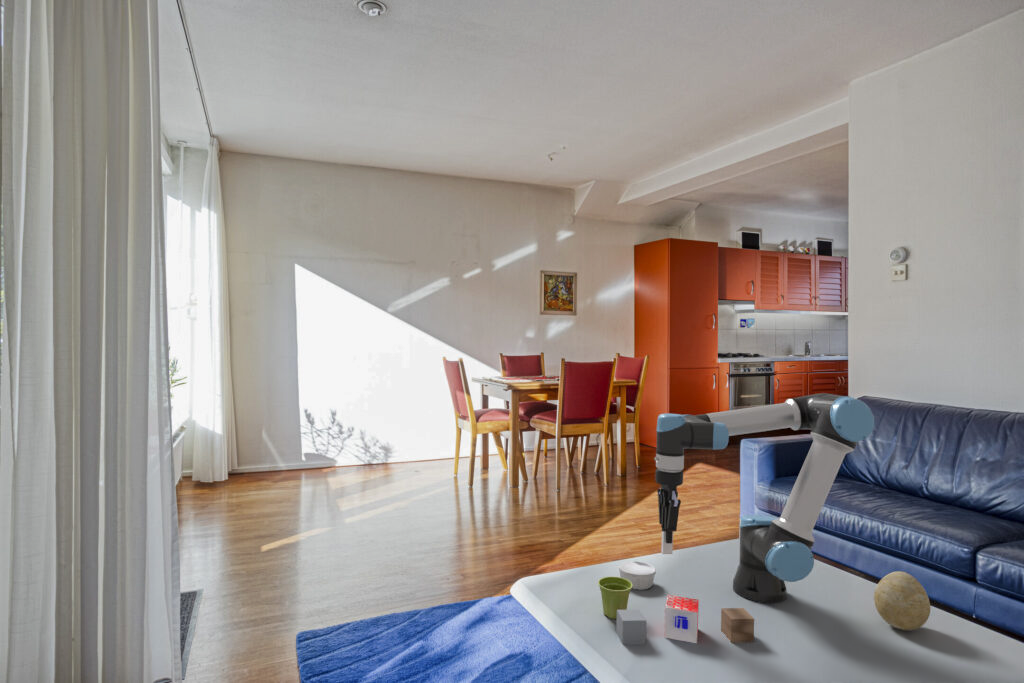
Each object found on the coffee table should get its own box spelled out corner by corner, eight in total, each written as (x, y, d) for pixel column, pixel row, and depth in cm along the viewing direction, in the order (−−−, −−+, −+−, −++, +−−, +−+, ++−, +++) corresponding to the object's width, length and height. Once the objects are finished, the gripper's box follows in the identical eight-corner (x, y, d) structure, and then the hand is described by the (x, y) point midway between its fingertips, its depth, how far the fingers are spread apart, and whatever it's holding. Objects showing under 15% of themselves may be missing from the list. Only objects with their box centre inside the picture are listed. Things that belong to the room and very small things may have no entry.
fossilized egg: (880, 612, 170) (882, 559, 170) (934, 628, 161) (935, 573, 161) (867, 626, 161) (868, 571, 161) (923, 645, 152) (925, 586, 152)
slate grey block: (639, 632, 156) (639, 609, 156) (645, 644, 150) (646, 620, 150) (616, 632, 156) (616, 609, 155) (622, 644, 150) (622, 620, 149)
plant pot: (631, 624, 160) (632, 592, 160) (596, 620, 162) (597, 588, 162) (631, 608, 169) (632, 578, 169) (598, 605, 171) (599, 575, 171)
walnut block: (742, 630, 158) (743, 608, 158) (753, 642, 152) (754, 618, 152) (720, 630, 158) (721, 608, 157) (730, 642, 152) (731, 619, 152)
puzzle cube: (698, 629, 158) (698, 599, 158) (697, 643, 151) (697, 612, 151) (666, 624, 161) (667, 594, 161) (664, 637, 153) (665, 607, 153)
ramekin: (660, 582, 188) (660, 565, 188) (648, 595, 179) (648, 577, 179) (626, 574, 194) (626, 558, 194) (613, 586, 185) (613, 569, 185)
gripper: (649, 464, 174) (646, 545, 174) (663, 474, 161) (661, 562, 161) (674, 464, 174) (672, 545, 174) (691, 474, 161) (688, 562, 161)
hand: (666, 553), depth 168 cm, fingers closed
